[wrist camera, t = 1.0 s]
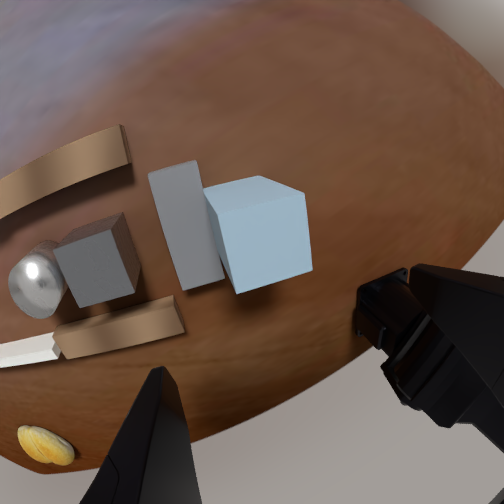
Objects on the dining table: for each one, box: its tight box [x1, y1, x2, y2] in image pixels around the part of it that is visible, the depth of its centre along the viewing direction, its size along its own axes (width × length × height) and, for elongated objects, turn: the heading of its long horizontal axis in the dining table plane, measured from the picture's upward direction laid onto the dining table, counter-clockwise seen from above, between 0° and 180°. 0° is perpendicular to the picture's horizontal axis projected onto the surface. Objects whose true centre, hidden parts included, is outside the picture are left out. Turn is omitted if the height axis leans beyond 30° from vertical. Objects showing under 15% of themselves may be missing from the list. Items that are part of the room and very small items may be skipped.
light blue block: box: [148, 160, 312, 294], centre depth 15 cm, size 7×8×7 cm
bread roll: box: [18, 425, 74, 465], centre depth 21 cm, size 8×9×4 cm
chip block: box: [53, 212, 141, 308], centre depth 15 cm, size 4×4×4 cm
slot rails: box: [0, 124, 185, 359], centre depth 16 cm, size 11×15×2 cm
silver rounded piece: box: [8, 241, 69, 319], centre depth 14 cm, size 4×4×4 cm
